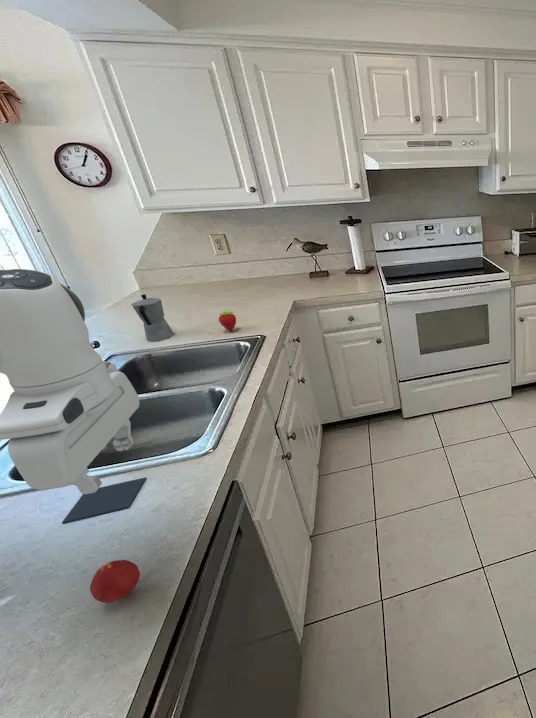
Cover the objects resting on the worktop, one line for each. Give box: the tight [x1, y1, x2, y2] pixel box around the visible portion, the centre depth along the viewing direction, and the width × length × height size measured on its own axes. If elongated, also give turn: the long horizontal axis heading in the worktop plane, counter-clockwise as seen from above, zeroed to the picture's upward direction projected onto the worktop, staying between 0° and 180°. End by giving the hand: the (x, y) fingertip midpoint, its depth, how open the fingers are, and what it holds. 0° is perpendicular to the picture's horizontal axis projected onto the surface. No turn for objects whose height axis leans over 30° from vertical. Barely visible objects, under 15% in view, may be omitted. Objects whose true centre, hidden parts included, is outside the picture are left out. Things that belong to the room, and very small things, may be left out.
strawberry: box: [218, 311, 237, 333], centre depth 166 cm, size 6×8×10 cm
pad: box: [61, 476, 148, 525], centre depth 87 cm, size 11×9×1 cm
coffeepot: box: [130, 293, 175, 343], centre depth 160 cm, size 15×9×18 cm, turn 27°
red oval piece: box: [89, 559, 141, 604], centre depth 66 cm, size 6×6×8 cm
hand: (110, 467), depth 62 cm, fingers open, 8 cm apart
